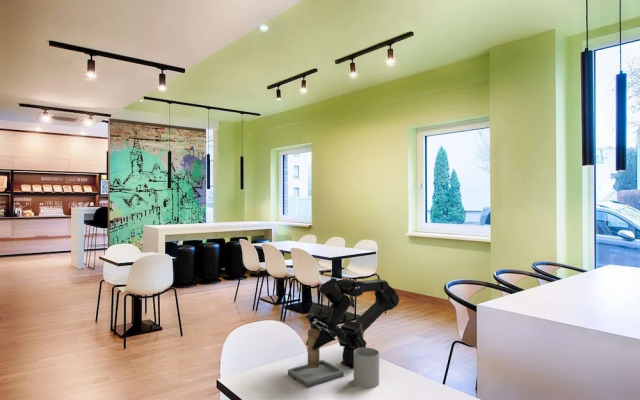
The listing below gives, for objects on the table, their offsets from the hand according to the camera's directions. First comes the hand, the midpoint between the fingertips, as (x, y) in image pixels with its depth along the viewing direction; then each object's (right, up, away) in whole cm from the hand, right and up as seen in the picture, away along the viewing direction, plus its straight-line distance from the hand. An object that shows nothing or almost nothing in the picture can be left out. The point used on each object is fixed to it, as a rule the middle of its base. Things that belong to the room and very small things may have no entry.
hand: (310, 347), depth 136 cm
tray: (+2, -10, +1) cm, 10 cm away
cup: (+19, -10, -4) cm, 22 cm away
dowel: (+1, -7, +1) cm, 7 cm away
